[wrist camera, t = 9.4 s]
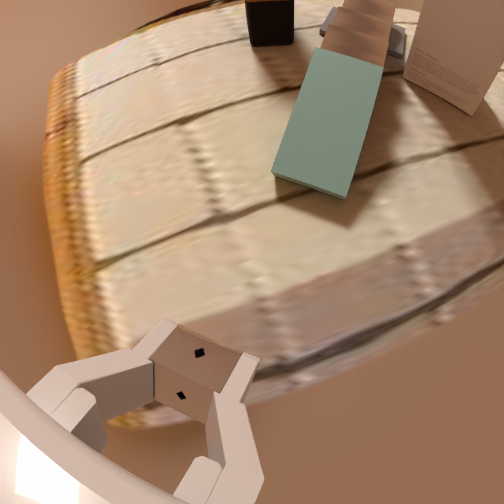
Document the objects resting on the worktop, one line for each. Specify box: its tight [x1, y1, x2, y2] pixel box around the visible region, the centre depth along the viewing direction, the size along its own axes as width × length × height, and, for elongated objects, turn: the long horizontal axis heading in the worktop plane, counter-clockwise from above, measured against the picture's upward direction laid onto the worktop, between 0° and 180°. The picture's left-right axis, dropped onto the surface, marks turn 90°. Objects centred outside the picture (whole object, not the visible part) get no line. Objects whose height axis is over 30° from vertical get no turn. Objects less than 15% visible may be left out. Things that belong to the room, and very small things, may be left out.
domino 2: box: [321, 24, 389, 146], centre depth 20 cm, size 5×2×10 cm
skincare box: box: [402, 0, 504, 116], centre depth 16 cm, size 8×7×16 cm
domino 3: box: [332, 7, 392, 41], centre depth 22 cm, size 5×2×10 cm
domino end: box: [271, 47, 384, 200], centre depth 19 cm, size 5×2×10 cm
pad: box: [319, 7, 405, 58], centre depth 26 cm, size 9×7×1 cm
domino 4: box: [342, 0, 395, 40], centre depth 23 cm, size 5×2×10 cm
